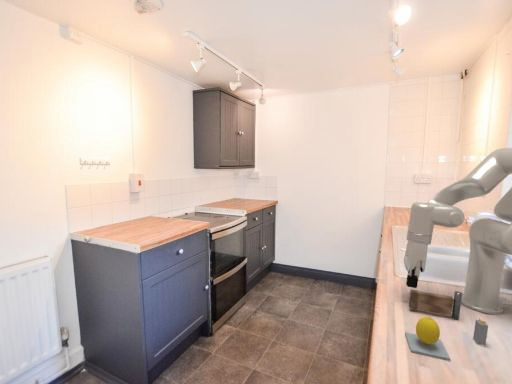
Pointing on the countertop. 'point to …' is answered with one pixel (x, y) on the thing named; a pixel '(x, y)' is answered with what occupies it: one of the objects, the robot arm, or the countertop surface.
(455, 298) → the gatepost
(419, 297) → the brown wooden block
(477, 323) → the post
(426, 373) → the countertop surface
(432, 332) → the lemon
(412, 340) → the mat
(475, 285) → the robot arm
